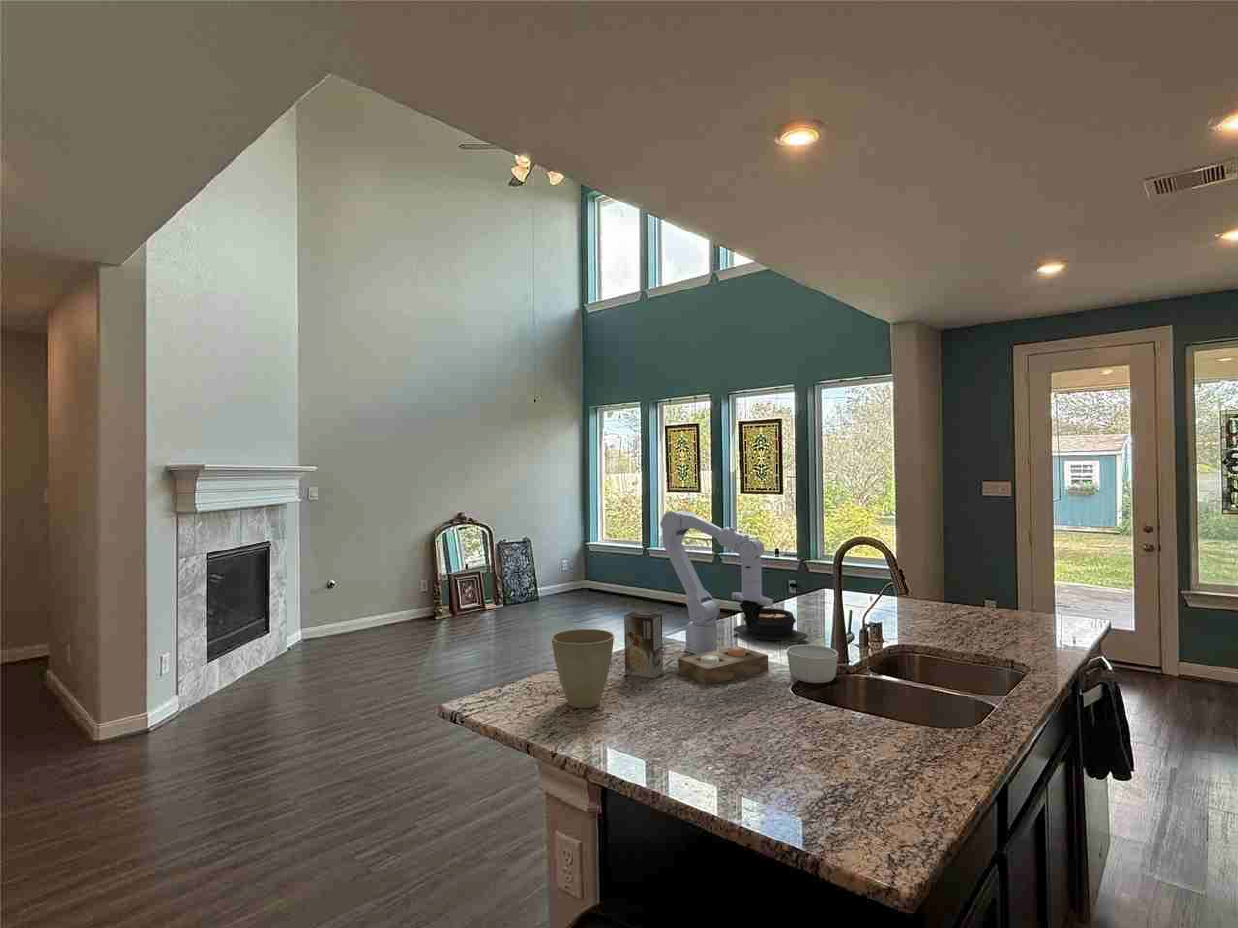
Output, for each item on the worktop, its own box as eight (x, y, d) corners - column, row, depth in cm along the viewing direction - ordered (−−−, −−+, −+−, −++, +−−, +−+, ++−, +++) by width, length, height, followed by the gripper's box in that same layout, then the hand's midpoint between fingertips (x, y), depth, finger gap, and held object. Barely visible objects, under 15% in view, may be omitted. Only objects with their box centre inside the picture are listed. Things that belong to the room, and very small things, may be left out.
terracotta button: (724, 660, 182) (724, 648, 182) (737, 657, 185) (737, 645, 185) (736, 664, 178) (736, 652, 178) (749, 661, 181) (749, 649, 181)
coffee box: (664, 672, 178) (663, 613, 178) (654, 679, 172) (653, 618, 172) (634, 668, 182) (633, 610, 182) (623, 674, 176) (623, 615, 177)
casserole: (721, 636, 216) (721, 611, 216) (753, 627, 229) (753, 603, 229) (788, 650, 198) (788, 623, 199) (818, 639, 212) (818, 613, 212)
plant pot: (621, 695, 160) (621, 630, 160) (604, 717, 146) (603, 645, 146) (564, 690, 164) (564, 626, 164) (542, 711, 150) (541, 641, 150)
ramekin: (841, 686, 165) (841, 658, 165) (788, 683, 168) (787, 656, 168) (835, 670, 178) (834, 645, 178) (785, 668, 181) (785, 643, 181)
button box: (678, 672, 177) (678, 658, 177) (737, 659, 190) (737, 645, 190) (708, 684, 167) (707, 669, 167) (768, 669, 180) (768, 655, 180)
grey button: (697, 670, 176) (697, 657, 176) (710, 667, 179) (710, 654, 179) (709, 674, 172) (709, 661, 172) (722, 671, 175) (722, 658, 175)
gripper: (724, 578, 193) (724, 624, 193) (760, 585, 181) (760, 634, 181) (741, 576, 197) (741, 621, 197) (777, 582, 185) (778, 631, 184)
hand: (752, 627), depth 189 cm, fingers closed
